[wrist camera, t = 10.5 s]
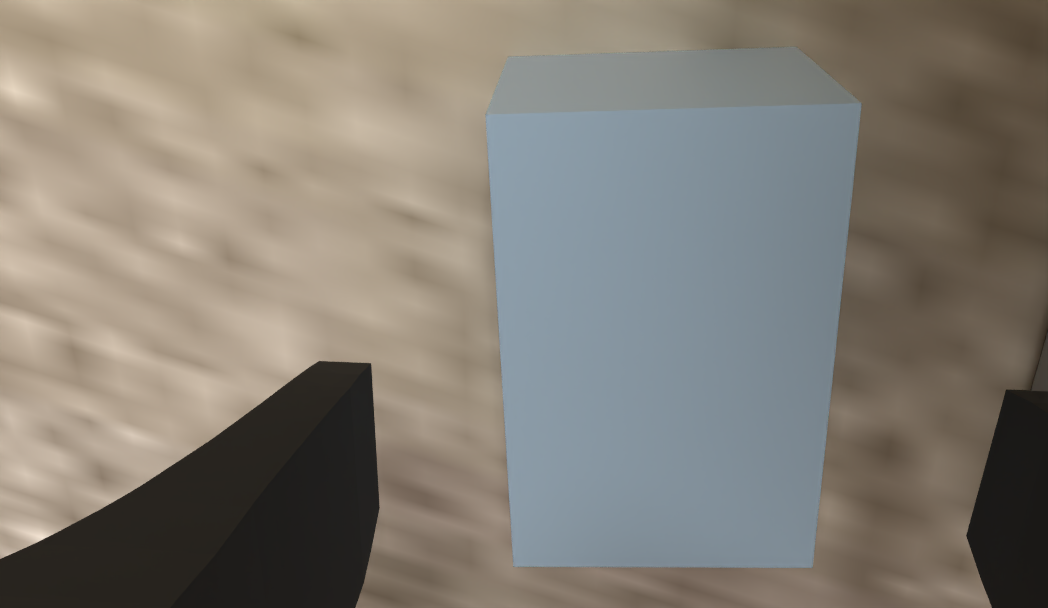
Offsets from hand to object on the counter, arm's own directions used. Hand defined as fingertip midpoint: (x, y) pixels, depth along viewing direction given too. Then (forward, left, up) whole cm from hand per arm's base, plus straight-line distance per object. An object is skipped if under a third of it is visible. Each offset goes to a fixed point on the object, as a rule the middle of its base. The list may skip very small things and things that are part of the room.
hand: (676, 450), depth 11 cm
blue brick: (0, 0, -6) cm, 6 cm away
